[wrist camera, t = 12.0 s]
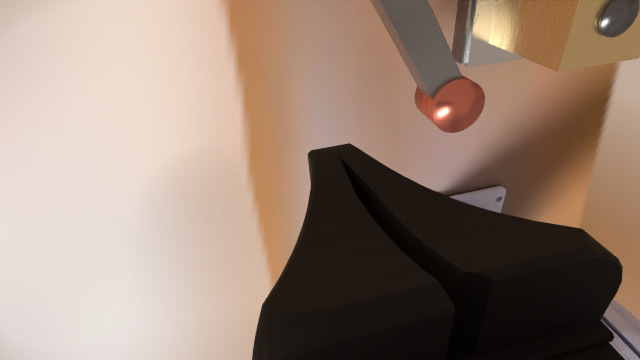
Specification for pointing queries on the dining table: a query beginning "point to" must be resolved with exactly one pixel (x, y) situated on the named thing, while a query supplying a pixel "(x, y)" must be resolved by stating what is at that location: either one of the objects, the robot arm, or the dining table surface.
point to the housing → (568, 31)
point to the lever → (431, 65)
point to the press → (477, 35)
